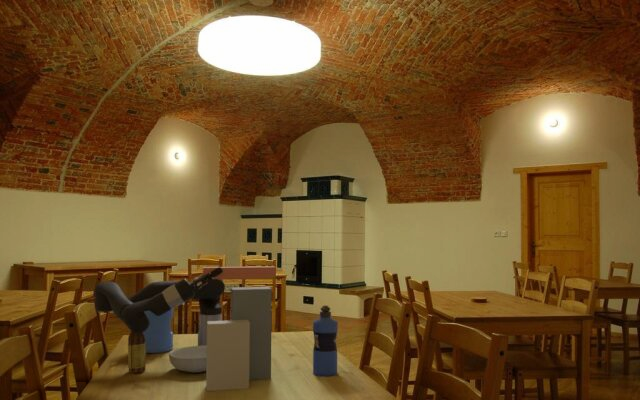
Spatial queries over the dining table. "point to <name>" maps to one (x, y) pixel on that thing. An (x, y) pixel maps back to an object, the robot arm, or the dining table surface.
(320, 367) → the water bottle
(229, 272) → the bar
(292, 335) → the dining table surface
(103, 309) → the robot arm
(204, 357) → the serving bowl
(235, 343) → the stand
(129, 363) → the sauce bottle
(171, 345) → the water jug
